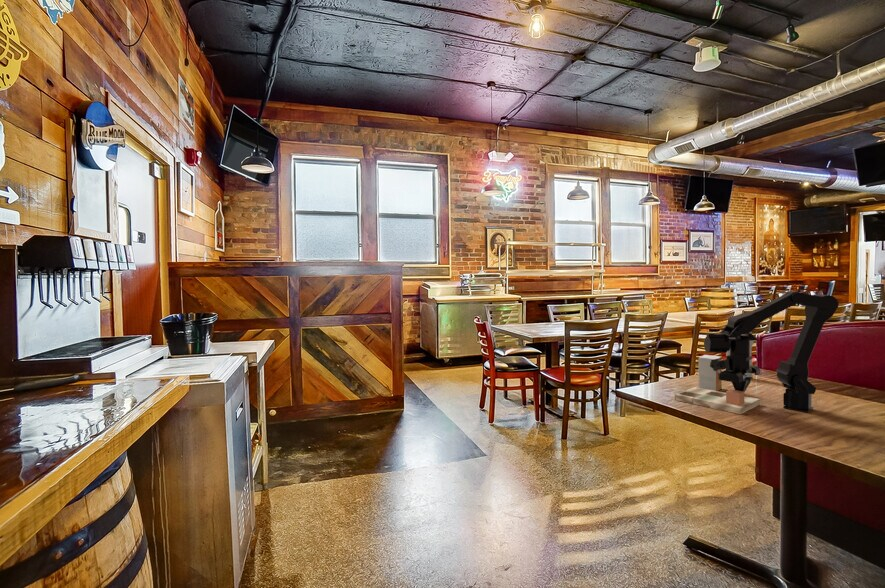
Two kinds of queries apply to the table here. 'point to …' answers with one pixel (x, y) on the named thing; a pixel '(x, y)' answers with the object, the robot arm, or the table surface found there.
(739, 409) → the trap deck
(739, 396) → the block
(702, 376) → the small box
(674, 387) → the table surface
